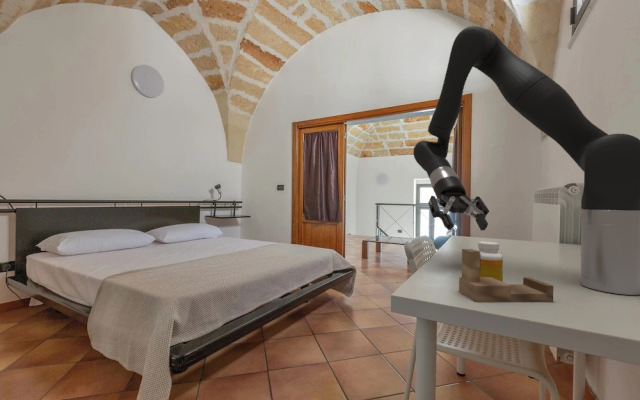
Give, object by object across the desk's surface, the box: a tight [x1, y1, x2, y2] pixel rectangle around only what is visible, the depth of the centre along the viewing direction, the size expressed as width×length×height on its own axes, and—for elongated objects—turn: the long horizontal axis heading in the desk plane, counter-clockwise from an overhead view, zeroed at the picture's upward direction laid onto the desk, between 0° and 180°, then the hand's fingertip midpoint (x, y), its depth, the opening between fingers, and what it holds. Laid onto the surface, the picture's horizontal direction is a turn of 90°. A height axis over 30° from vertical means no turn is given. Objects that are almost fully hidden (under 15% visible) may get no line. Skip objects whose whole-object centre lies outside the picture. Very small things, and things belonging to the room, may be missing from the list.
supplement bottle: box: [477, 241, 504, 282], centre depth 61 cm, size 5×5×10 cm
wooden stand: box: [458, 248, 554, 303], centre depth 55 cm, size 15×6×9 cm, turn 91°
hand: (467, 228), depth 70 cm, fingers open, 8 cm apart
